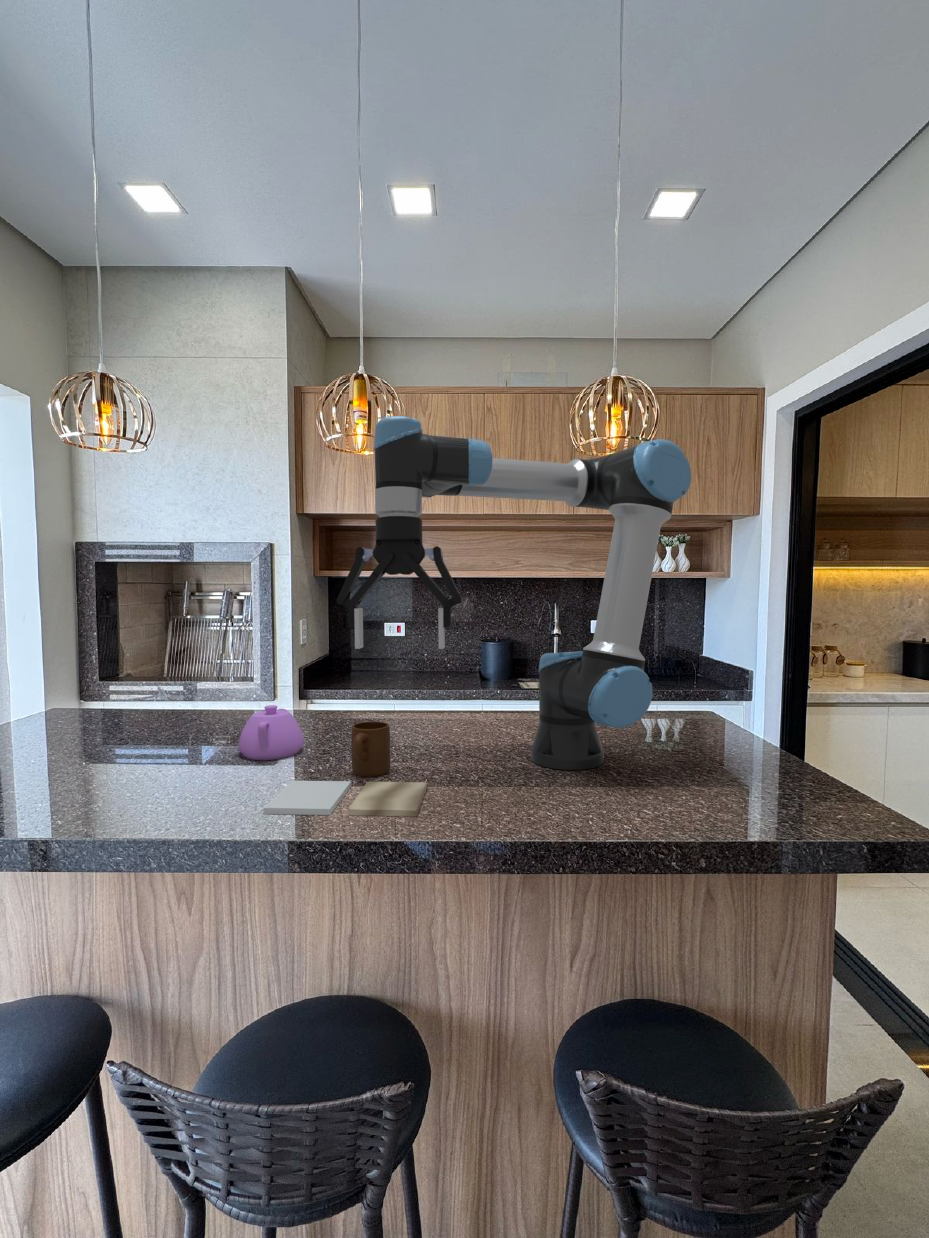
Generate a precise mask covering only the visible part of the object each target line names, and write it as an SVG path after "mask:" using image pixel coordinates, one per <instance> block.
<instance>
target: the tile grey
mask: <svg viewBox="0 0 929 1238" xmlns="http://www.w3.org/2000/svg"><path fill="white" fill-rule="evenodd" d="M351 787H352V781H350V780H349V781H344V780H342V781H341V780H340V781H339V780H291V782H289V784H287V785H286V786H285V787H284V788H283V789H282V790H281V791H279V792H278V793H277V795H275V796H274V797H273V798H272V799H270V801H269V802H268V803H267V804H266V805H265V806H263V810H262V813H263V815H297V816H298V815H299V816H301V815H306V816H308V815H309V816H311V815H312V816H331V815H332V813H333V812H334V811H335V809H336V808H337V806H338V805H339V804H340V802H342V800H343V798H344V797H345V796H346V794H347V793H348V792H349V790H350V789H351Z"/></svg>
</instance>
